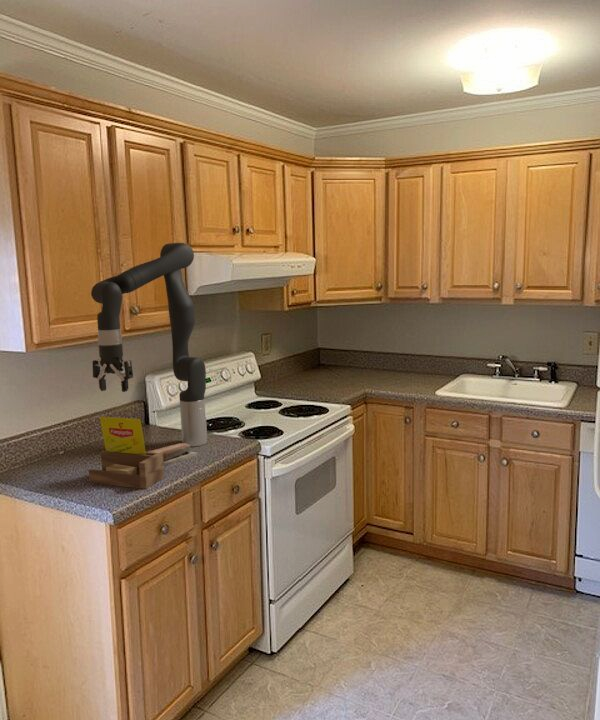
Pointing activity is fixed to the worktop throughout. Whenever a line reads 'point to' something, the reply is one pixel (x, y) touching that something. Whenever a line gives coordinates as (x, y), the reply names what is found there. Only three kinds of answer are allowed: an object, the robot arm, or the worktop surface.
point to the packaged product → (175, 453)
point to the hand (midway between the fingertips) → (114, 390)
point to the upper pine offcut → (122, 469)
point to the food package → (123, 435)
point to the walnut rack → (147, 473)
